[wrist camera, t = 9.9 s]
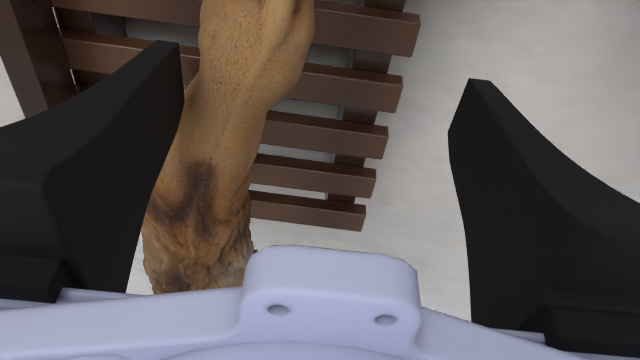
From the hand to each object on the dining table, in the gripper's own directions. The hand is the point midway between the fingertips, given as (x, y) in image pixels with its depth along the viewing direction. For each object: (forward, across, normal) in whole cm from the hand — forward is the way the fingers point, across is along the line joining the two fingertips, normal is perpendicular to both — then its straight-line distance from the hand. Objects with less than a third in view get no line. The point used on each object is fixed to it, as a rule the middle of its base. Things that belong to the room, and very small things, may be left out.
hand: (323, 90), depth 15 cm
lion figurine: (+6, +3, +3) cm, 7 cm away
